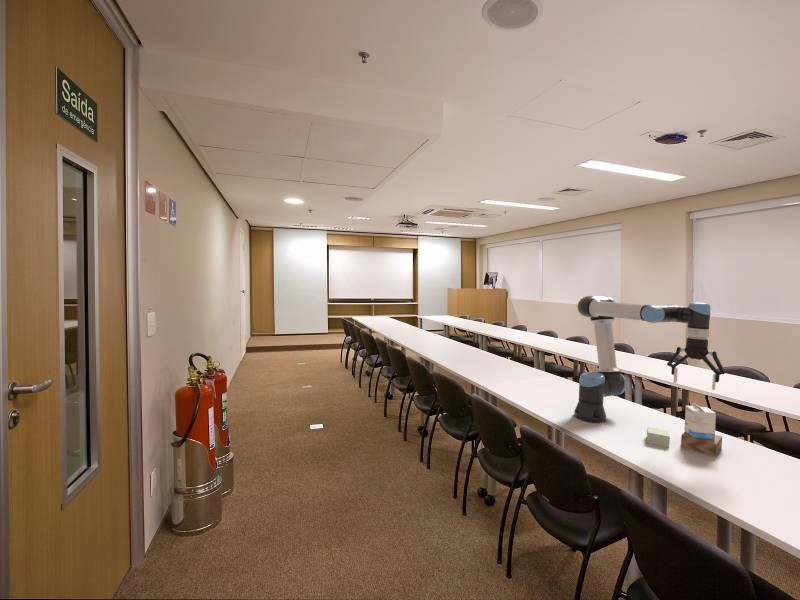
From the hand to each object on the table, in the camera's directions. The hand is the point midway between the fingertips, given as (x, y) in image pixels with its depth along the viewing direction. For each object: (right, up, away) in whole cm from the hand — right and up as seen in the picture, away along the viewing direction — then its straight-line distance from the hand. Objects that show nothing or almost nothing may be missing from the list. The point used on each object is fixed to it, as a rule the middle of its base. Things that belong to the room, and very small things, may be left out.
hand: (693, 385), depth 169 cm
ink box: (+1, -22, -1) cm, 22 cm away
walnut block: (+2, -27, -1) cm, 28 cm away
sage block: (-13, -27, +4) cm, 30 cm away
